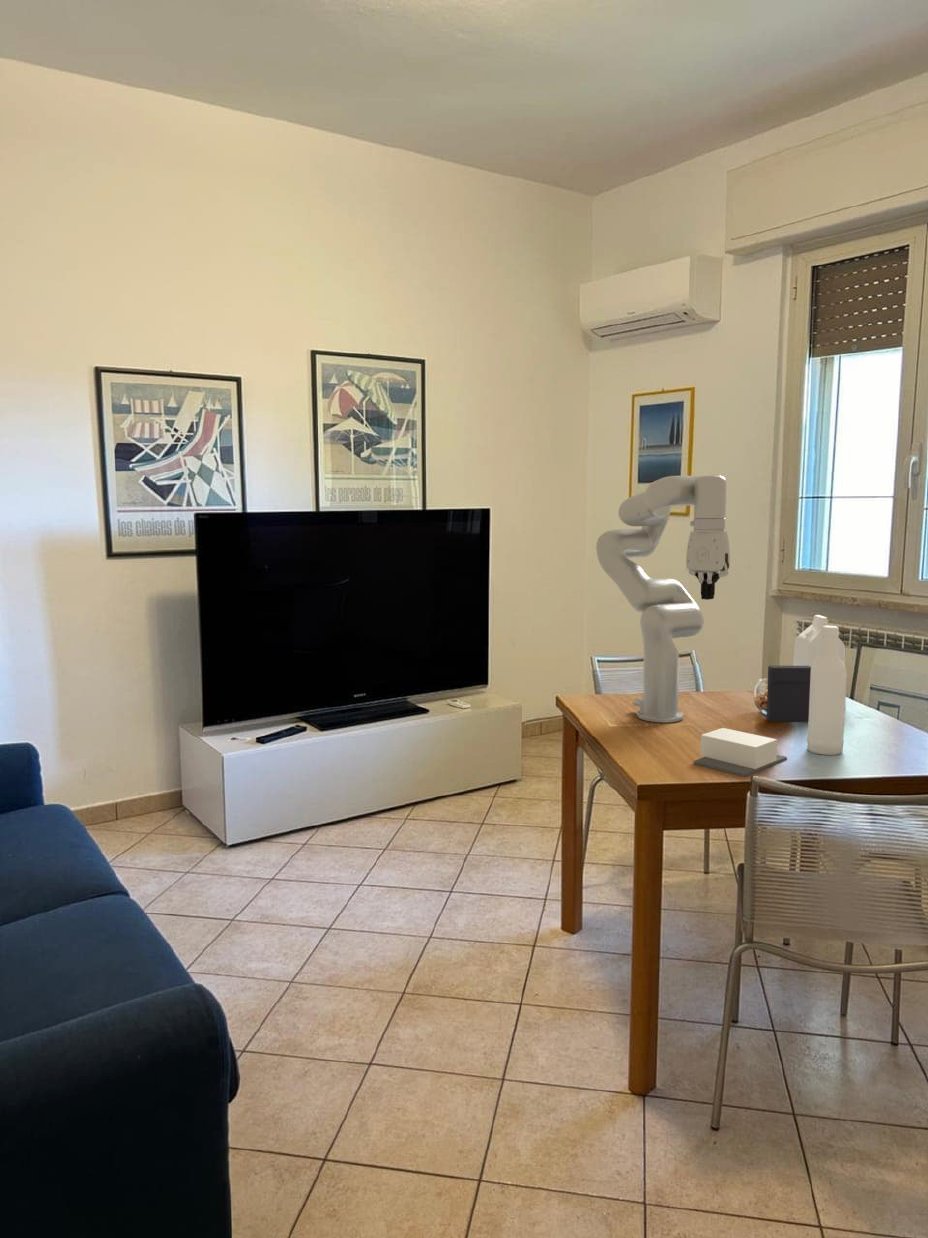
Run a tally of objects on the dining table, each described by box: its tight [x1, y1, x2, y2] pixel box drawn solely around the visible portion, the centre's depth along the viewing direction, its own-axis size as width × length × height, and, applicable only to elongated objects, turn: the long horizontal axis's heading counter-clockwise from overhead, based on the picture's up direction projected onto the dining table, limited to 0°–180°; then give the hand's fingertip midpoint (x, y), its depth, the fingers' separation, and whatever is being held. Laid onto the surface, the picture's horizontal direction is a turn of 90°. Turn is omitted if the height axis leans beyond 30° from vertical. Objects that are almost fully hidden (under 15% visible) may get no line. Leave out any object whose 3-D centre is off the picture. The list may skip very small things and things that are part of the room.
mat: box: [693, 754, 788, 777], centre depth 197 cm, size 13×18×1 cm
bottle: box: [806, 625, 847, 756], centre depth 202 cm, size 8×8×30 cm
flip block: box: [700, 727, 778, 769], centre depth 197 cm, size 5×9×14 cm
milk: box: [792, 614, 847, 710], centre depth 248 cm, size 12×12×26 cm
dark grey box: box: [766, 665, 811, 723], centre depth 231 cm, size 11×4×15 cm, turn 84°
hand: (707, 598), depth 215 cm, fingers closed
